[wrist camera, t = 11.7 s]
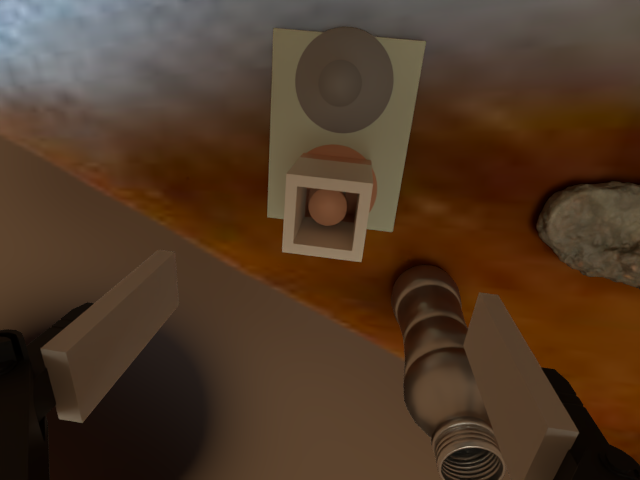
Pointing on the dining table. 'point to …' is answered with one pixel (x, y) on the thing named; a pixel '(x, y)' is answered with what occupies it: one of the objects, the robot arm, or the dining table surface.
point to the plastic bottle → (443, 376)
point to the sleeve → (327, 175)
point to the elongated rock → (595, 229)
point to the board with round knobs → (342, 114)
